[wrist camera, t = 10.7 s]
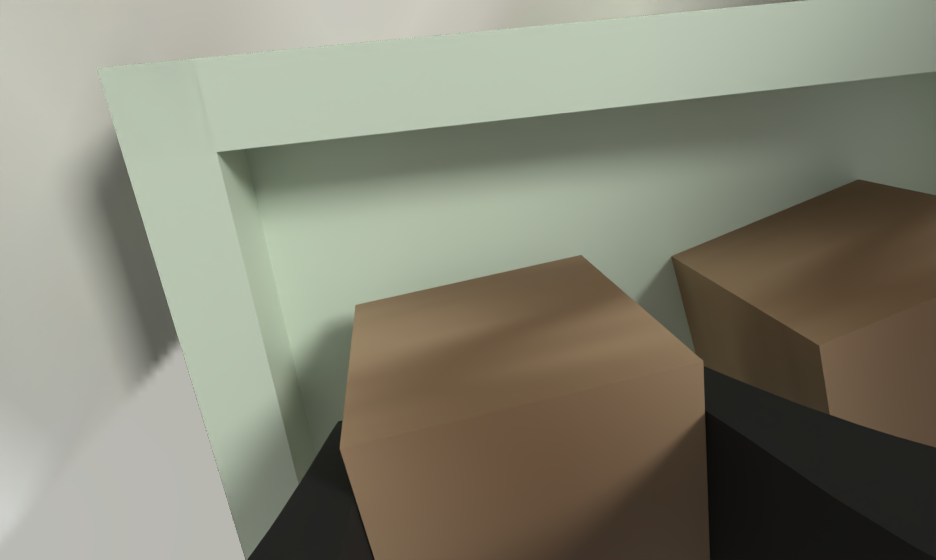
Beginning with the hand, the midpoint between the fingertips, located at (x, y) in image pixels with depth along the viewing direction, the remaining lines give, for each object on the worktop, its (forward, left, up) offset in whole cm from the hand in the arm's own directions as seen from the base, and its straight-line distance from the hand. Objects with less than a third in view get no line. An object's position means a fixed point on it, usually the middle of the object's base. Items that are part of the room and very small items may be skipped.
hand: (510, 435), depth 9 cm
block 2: (-6, 0, -2) cm, 7 cm away
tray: (-3, 0, -3) cm, 5 cm away
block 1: (0, 0, -2) cm, 2 cm away
